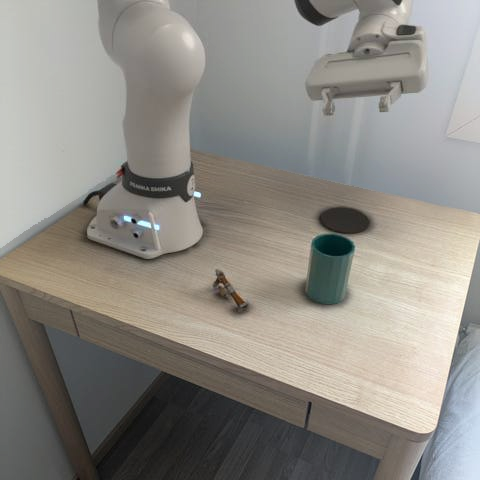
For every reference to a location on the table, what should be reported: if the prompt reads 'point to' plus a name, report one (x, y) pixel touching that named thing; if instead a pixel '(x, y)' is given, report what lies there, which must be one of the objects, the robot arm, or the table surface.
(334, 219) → the coaster
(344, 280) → the cup
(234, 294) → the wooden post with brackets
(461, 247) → the table surface
